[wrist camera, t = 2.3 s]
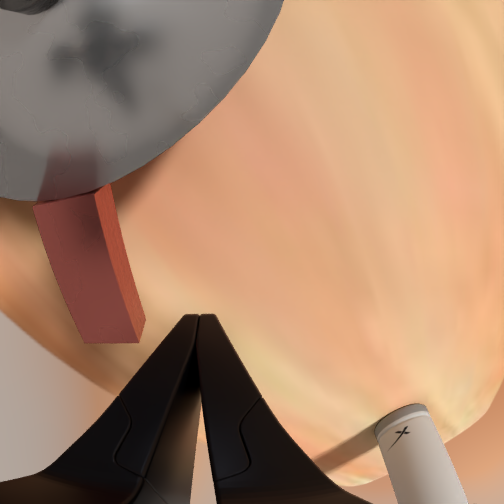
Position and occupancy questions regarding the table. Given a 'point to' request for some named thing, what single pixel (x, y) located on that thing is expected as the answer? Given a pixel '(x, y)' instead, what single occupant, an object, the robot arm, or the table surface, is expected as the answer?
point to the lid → (108, 122)
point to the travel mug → (417, 458)
